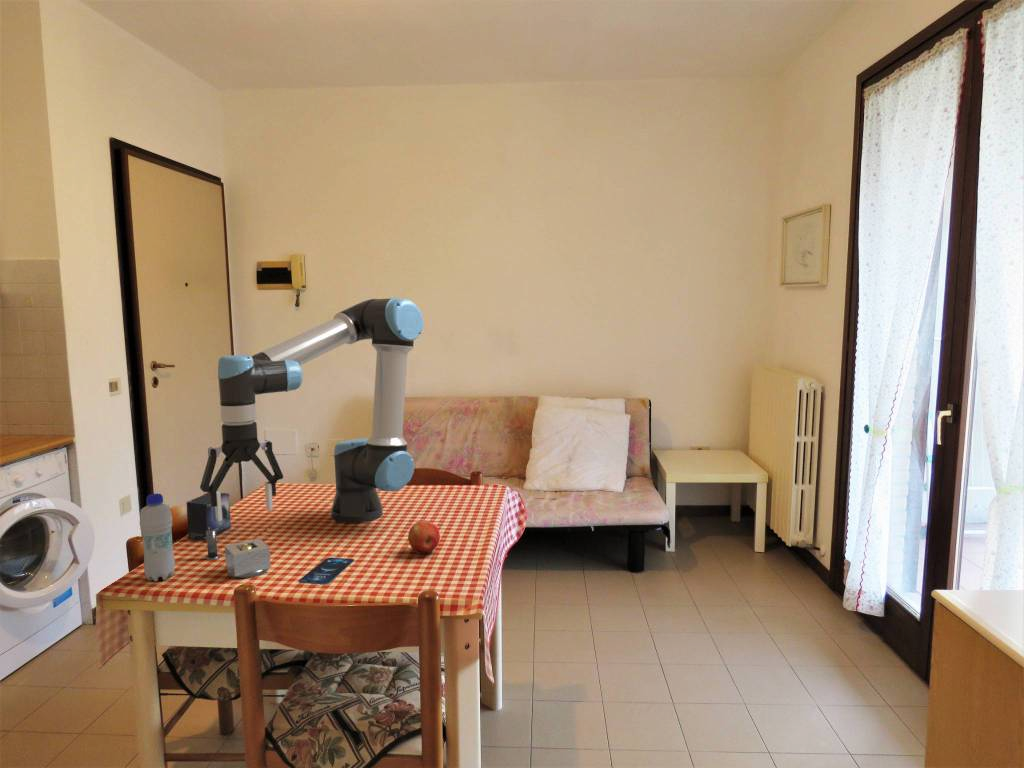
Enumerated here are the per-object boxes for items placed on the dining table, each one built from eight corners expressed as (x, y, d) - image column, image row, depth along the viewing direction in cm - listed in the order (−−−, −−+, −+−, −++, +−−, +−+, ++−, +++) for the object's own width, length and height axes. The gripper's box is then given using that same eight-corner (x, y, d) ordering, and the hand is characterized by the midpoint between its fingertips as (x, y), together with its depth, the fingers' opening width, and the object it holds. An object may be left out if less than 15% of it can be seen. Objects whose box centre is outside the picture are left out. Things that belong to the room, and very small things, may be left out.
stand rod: (222, 554, 166) (220, 528, 165) (216, 560, 162) (215, 532, 161) (208, 555, 165) (206, 528, 165) (203, 560, 162) (201, 533, 161)
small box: (208, 541, 176) (205, 503, 174) (187, 539, 177) (184, 502, 176) (232, 528, 186) (230, 492, 185) (212, 526, 187) (209, 491, 186)
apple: (439, 545, 171) (438, 515, 170) (441, 557, 162) (440, 526, 162) (408, 547, 169) (407, 517, 168) (408, 559, 161) (407, 528, 160)
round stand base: (273, 562, 160) (272, 539, 159) (261, 578, 151) (259, 553, 150) (236, 563, 160) (234, 540, 159) (221, 579, 151) (219, 554, 150)
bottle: (152, 572, 155) (145, 490, 153) (181, 570, 156) (175, 489, 153) (138, 584, 149) (131, 498, 146) (169, 582, 149) (162, 497, 147)
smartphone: (356, 558, 162) (328, 583, 147) (356, 561, 162) (328, 586, 147) (327, 557, 163) (296, 581, 149) (327, 559, 163) (296, 583, 149)
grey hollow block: (260, 557, 161) (259, 538, 160) (270, 567, 154) (269, 547, 154) (226, 565, 156) (224, 545, 155) (235, 576, 150) (233, 555, 149)
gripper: (284, 414, 161) (288, 501, 164) (180, 426, 147) (187, 520, 150) (294, 418, 155) (299, 508, 158) (187, 430, 141) (194, 529, 144)
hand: (244, 514), depth 154 cm, fingers open, 11 cm apart
